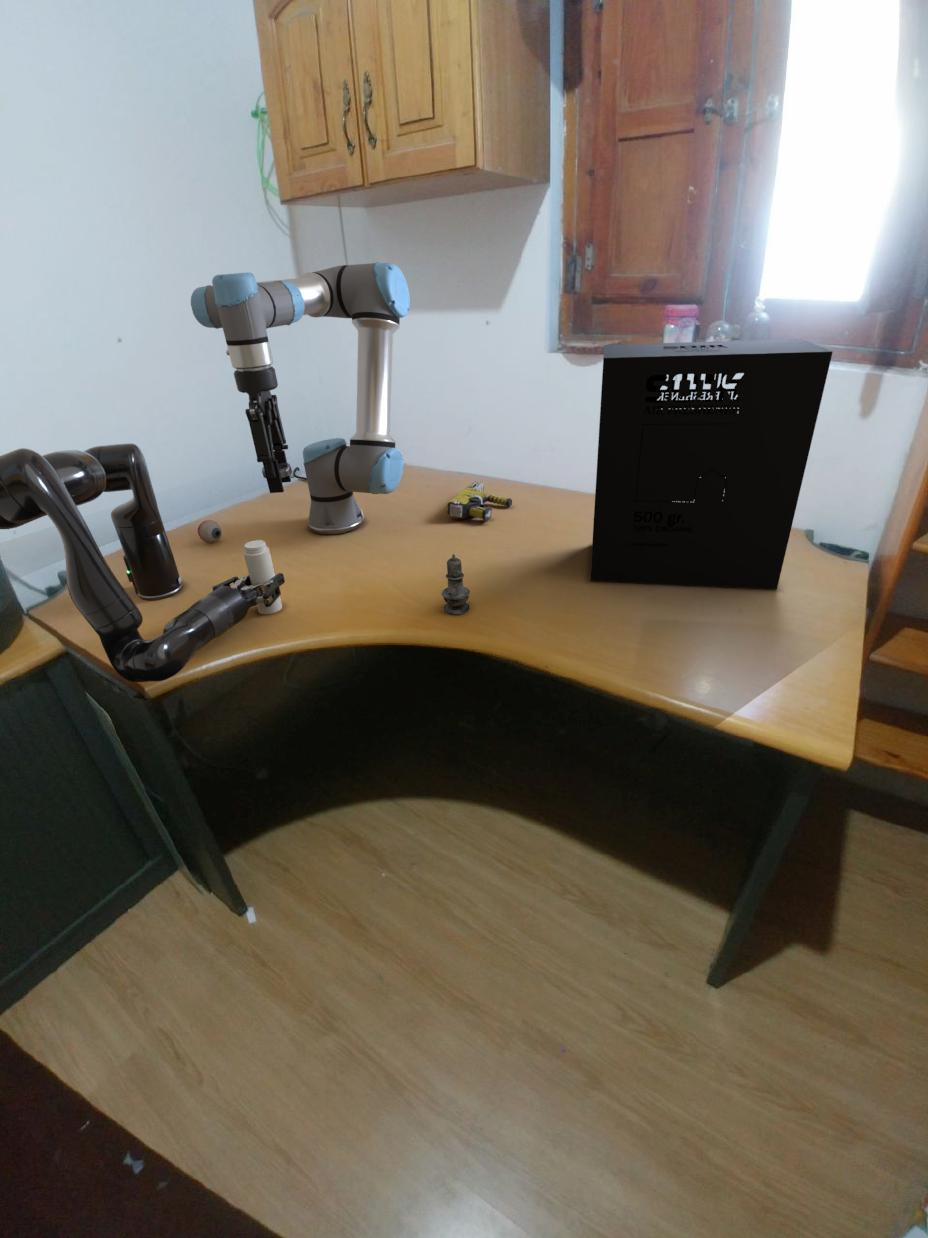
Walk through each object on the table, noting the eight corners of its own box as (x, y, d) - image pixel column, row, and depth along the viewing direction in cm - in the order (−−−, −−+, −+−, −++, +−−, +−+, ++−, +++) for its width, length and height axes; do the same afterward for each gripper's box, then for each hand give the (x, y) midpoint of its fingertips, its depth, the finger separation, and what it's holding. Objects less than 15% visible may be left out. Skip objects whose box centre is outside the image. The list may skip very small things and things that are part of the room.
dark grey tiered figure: (468, 615, 121) (465, 561, 115) (439, 614, 122) (435, 559, 116) (473, 601, 126) (471, 548, 120) (446, 600, 127) (442, 547, 121)
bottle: (253, 613, 127) (236, 548, 119) (265, 602, 131) (250, 538, 123) (275, 615, 126) (259, 549, 118) (286, 603, 130) (271, 539, 122)
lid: (294, 469, 126) (293, 461, 125) (289, 478, 121) (287, 470, 120) (267, 471, 126) (265, 463, 125) (260, 480, 121) (258, 472, 120)
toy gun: (520, 486, 181) (473, 479, 185) (498, 510, 161) (445, 501, 165) (519, 501, 183) (472, 494, 187) (496, 526, 163) (445, 518, 167)
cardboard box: (756, 549, 141) (800, 338, 118) (776, 589, 124) (832, 351, 101) (592, 544, 148) (604, 344, 126) (590, 580, 131) (603, 357, 109)
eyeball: (211, 547, 159) (205, 526, 156) (196, 543, 162) (190, 522, 159) (229, 539, 163) (224, 518, 160) (214, 536, 166) (209, 515, 164)
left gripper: (242, 601, 109) (296, 562, 123) (180, 591, 114) (239, 555, 128) (251, 636, 113) (303, 595, 127) (191, 625, 118) (248, 587, 131)
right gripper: (248, 361, 121) (274, 473, 133) (217, 377, 105) (250, 504, 117) (285, 358, 121) (307, 471, 133) (259, 375, 105) (288, 501, 117)
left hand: (271, 575), depth 127 cm, fingers closed on bottle, 5 cm apart
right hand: (280, 486), depth 125 cm, fingers closed on lid, 6 cm apart
